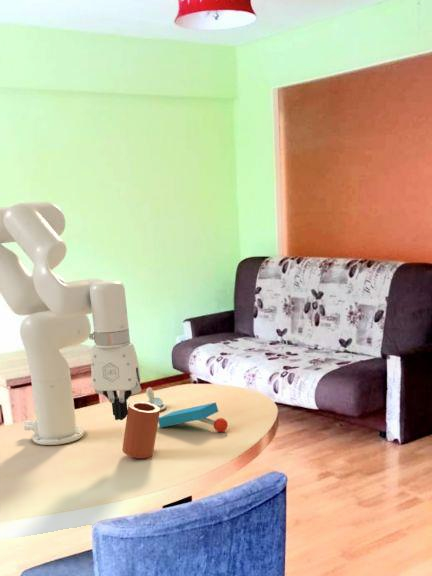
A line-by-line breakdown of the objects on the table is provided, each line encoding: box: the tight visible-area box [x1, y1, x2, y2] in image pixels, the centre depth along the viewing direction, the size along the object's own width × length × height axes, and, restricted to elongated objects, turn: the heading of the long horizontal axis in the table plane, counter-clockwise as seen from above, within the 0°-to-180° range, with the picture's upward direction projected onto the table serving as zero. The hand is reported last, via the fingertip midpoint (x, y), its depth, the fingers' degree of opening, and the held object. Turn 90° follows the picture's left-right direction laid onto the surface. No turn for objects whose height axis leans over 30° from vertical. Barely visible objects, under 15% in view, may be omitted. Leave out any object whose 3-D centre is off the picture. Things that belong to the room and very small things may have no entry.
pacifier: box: [145, 386, 167, 412], centre depth 203 cm, size 7×6×6 cm
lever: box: [158, 402, 229, 433], centre depth 185 cm, size 7×7×18 cm
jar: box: [122, 400, 161, 459], centre depth 166 cm, size 7×7×11 cm
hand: (120, 418), depth 166 cm, fingers closed
